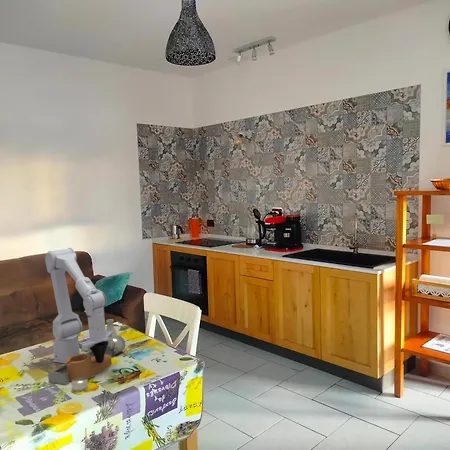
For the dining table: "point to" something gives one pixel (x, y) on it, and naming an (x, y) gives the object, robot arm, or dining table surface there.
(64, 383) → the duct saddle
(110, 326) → the flask
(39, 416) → the dining table surface
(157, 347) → the dining table surface
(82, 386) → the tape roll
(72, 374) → the bracket
